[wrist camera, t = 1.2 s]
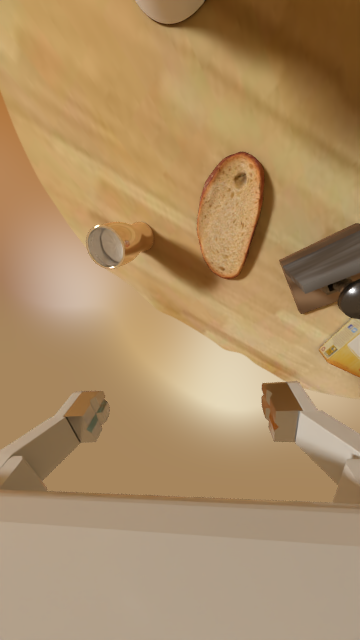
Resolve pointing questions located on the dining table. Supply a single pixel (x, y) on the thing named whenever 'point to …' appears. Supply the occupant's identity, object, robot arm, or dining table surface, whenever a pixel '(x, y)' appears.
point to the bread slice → (230, 213)
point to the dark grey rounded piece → (349, 297)
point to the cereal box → (344, 348)
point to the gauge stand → (323, 268)
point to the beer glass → (118, 243)
